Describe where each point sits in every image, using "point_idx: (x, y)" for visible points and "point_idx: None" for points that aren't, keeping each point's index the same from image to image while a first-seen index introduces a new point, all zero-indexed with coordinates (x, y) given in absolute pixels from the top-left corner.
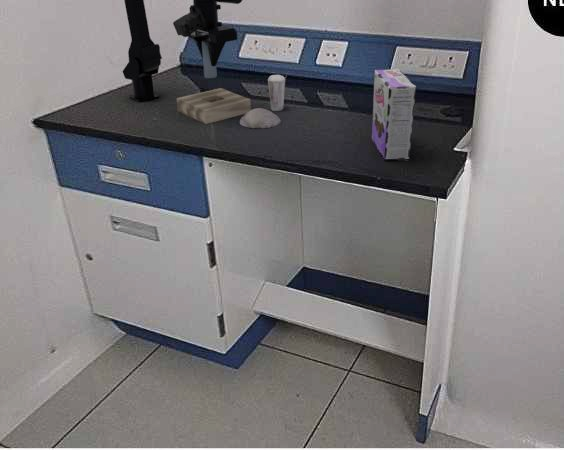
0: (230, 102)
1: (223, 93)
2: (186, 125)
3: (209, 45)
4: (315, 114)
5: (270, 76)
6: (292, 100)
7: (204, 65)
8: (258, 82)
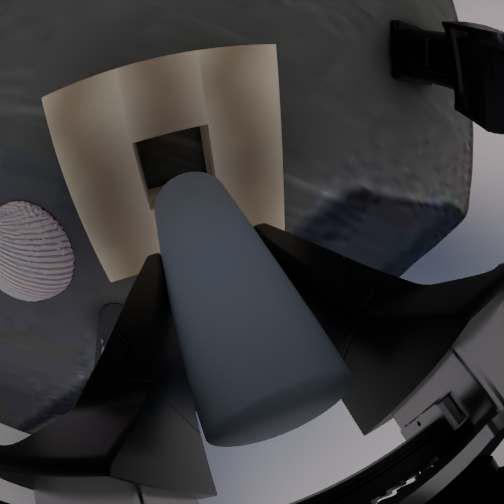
0: (98, 216)
1: None
2: (85, 27)
3: (58, 422)
4: (62, 357)
5: None
6: None
7: (198, 207)
8: None
